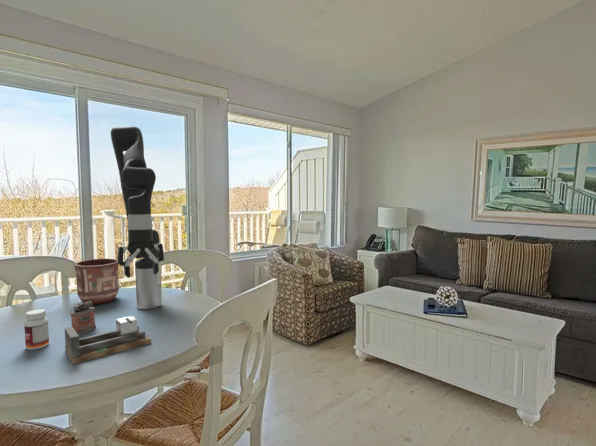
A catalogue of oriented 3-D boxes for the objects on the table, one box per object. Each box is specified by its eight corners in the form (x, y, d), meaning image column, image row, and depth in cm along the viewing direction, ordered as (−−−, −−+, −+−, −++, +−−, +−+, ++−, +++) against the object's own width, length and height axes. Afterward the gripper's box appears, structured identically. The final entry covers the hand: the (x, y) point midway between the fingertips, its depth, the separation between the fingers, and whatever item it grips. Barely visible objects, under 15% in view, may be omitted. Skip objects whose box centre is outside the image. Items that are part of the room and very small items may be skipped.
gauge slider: (132, 332, 123) (132, 314, 123) (140, 339, 118) (139, 319, 117) (116, 336, 120) (115, 317, 120) (123, 343, 115) (122, 323, 114)
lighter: (74, 335, 126) (73, 307, 125) (69, 333, 128) (67, 305, 127) (97, 328, 133) (96, 301, 132) (92, 326, 135) (91, 299, 134)
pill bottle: (23, 346, 117) (21, 312, 116) (45, 340, 122) (43, 307, 121) (29, 352, 113) (26, 316, 112) (52, 345, 118) (50, 311, 117)
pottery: (66, 306, 158) (64, 265, 157) (94, 294, 176) (92, 257, 174) (103, 308, 156) (102, 266, 154) (128, 296, 173) (127, 259, 172)
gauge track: (138, 332, 128) (137, 311, 128) (151, 343, 119) (150, 320, 119) (65, 350, 114) (63, 327, 113) (73, 364, 105) (71, 338, 104)
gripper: (158, 226, 130) (160, 271, 131) (114, 228, 121) (116, 276, 122) (165, 227, 124) (166, 274, 125) (119, 229, 115) (121, 280, 116)
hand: (141, 275), depth 124 cm, fingers open, 8 cm apart
